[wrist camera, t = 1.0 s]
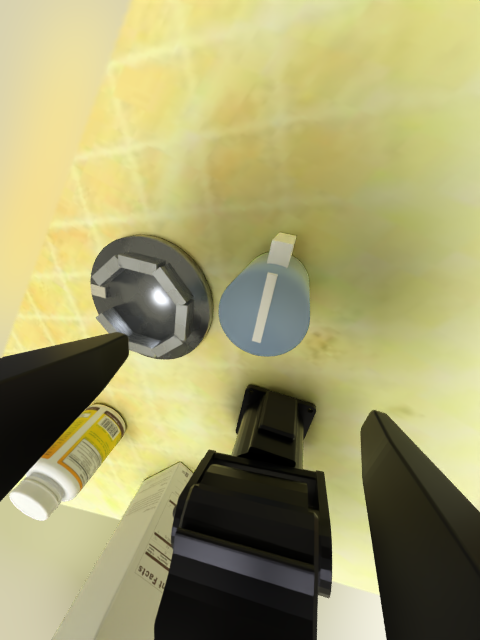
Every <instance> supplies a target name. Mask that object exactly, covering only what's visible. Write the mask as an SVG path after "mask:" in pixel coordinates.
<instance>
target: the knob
mask: <svg viewBox="0 0 480 640" xmlns="http://www.w3.org/2000/svg"><path fill="white" fill-rule="evenodd" d="M296 237H297V236H295V235H290V234H285V233H281V232H279V233H278V234H277V235H276V236H275V237H274V238H273V240H272V243H271V247H270V252H267V253H264V254H262V255H260V256H258V257H256V258H255V259H254V260H253V261H252V262H251V263H250V264H249V265H248V266H247V267H246V268H245V269H244V270H243V271H242V272H241V273H240V274H239V275H238V276H237V277H236V278H235V279H234V281H233V282H232V283H231V284H230V285H229V286H228V287H227V288H226V290H225V291H224V293H223V295H222V297H221V300H220V303H219V319H220V323H221V326H222V328H223V331H224V332H225V334H226V336H227V337H228V338H229V339H230V340H231V341H232V342H233V343H234V344H235V345H236V346H237V347H239V348H240V349H242V350H244V351H246V352H248V353H251V354H254V355H258V356H277V355H281V354H284V353H286V352H288V351H290V350H292V349H293V348H295V347H296V346H297V345H298V344H299V343H300V342H301V341H302V340H303V338H304V336H305V335H306V333H307V330H308V327H309V322H310V285H309V276H308V273H307V271H306V269H305V267H304V266H303V264H302V263H301V262H300V261H299V260H298V259H297V258H295V257H294V256H292V252H293V248H294V244H295V240H296Z"/></svg>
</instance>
